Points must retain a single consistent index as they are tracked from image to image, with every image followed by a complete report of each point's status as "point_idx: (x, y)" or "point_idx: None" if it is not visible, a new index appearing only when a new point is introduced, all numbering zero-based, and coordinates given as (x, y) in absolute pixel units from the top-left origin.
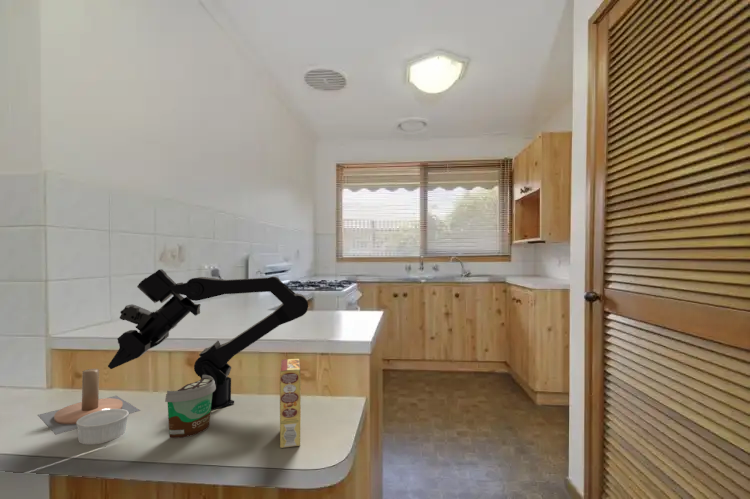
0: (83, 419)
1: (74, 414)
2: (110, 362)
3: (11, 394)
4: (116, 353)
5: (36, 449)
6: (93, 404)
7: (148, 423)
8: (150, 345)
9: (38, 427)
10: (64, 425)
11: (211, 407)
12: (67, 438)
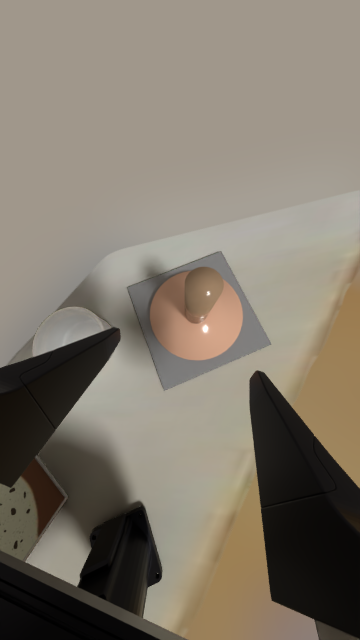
0: (87, 313)
1: (177, 295)
2: (97, 333)
3: (348, 197)
4: (39, 355)
5: (97, 277)
6: (186, 316)
7: (102, 404)
8: (274, 539)
9: (174, 263)
10: (155, 291)
11: (96, 537)
12: (112, 302)
